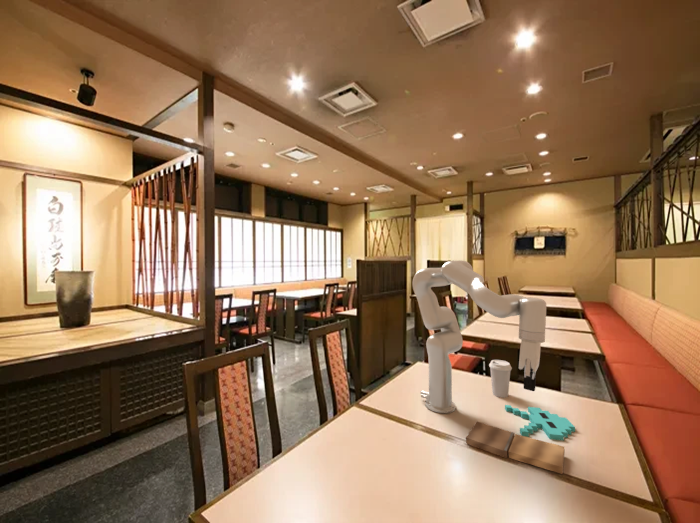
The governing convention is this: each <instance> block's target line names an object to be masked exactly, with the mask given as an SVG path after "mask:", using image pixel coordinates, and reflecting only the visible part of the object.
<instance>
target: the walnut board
mask: <svg viewBox="0 0 700 523" xmlns="http://www.w3.org/2000/svg"><path fill="white" fill-rule="evenodd" d="M515 434H516V433H515V432H513V431H509V430H506V429H502V428H499V427H497V426H493V425H490V424H487V423H483V422H481V421H478V420H476V422H475V423H474V425H473V426H472V428H471V429H470V431H469V432H468V434H467V435H466V437H465V439H466V440H465V443H467V445H469V446H472V447H475V448H478V449H480V450H483V451H485V452H488V453H491V454H493V455H496V454H497V455H496V456H499V455H500V456H499V457H502V458H505V459H508V458H509V452H508V451H509V449H510V446H511V444H512V441H513V439H514V436H515Z"/></svg>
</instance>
